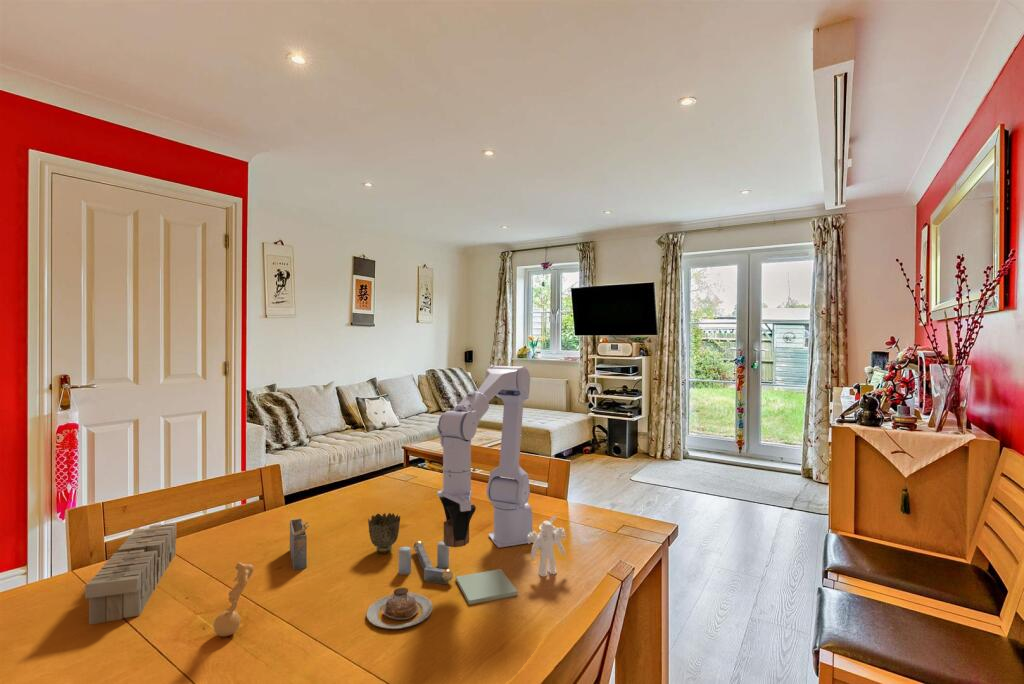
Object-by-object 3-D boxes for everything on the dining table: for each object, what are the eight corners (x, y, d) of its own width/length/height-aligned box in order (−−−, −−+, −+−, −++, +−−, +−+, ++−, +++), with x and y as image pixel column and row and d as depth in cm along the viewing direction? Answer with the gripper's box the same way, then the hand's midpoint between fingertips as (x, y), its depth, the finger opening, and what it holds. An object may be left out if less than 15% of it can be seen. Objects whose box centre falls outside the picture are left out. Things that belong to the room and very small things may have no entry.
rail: (435, 548, 120) (435, 536, 119) (454, 584, 102) (454, 571, 102) (411, 551, 118) (411, 540, 117) (427, 589, 100) (427, 575, 100)
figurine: (214, 625, 87) (214, 557, 87) (252, 616, 90) (252, 550, 90) (212, 651, 80) (212, 578, 80) (254, 640, 83) (254, 569, 83)
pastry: (400, 642, 84) (400, 615, 83) (352, 620, 90) (352, 595, 90) (445, 609, 94) (445, 585, 94) (399, 592, 100) (399, 569, 100)
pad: (500, 572, 108) (500, 568, 108) (517, 595, 98) (517, 591, 98) (455, 580, 104) (455, 576, 104) (469, 604, 95) (469, 600, 95)
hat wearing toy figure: (561, 565, 111) (561, 512, 111) (569, 572, 108) (570, 518, 107) (524, 572, 108) (524, 517, 108) (531, 580, 104) (532, 523, 104)
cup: (391, 559, 113) (391, 525, 113) (362, 556, 115) (362, 522, 115) (405, 546, 121) (405, 513, 120) (377, 543, 122) (377, 511, 122)
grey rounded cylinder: (409, 568, 109) (409, 545, 109) (411, 573, 107) (411, 550, 107) (397, 570, 108) (397, 547, 108) (399, 575, 106) (399, 552, 106)
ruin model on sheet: (308, 569, 109) (308, 525, 109) (293, 572, 108) (293, 528, 108) (303, 549, 119) (303, 509, 119) (289, 552, 118) (289, 511, 118)
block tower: (136, 564, 113) (82, 631, 86) (137, 527, 113) (82, 582, 86) (177, 558, 116) (137, 621, 89) (177, 522, 116) (137, 573, 89)
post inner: (447, 562, 112) (447, 540, 112) (450, 567, 110) (450, 545, 110) (436, 564, 111) (436, 542, 111) (438, 569, 109) (438, 546, 109)
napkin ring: (464, 535, 106) (465, 516, 105) (471, 544, 101) (471, 525, 101) (441, 538, 104) (441, 519, 104) (447, 548, 99) (447, 528, 99)
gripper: (430, 462, 107) (430, 524, 108) (445, 480, 94) (445, 551, 94) (462, 459, 110) (462, 520, 110) (481, 477, 96) (481, 546, 97)
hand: (456, 534), depth 102 cm, fingers closed on napkin ring, 5 cm apart
